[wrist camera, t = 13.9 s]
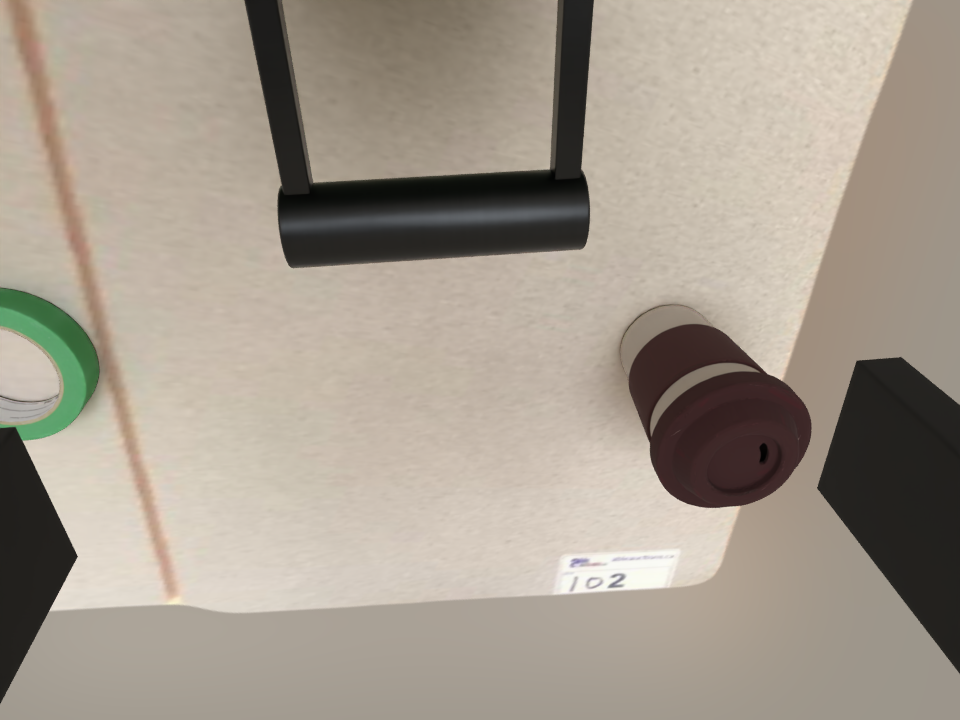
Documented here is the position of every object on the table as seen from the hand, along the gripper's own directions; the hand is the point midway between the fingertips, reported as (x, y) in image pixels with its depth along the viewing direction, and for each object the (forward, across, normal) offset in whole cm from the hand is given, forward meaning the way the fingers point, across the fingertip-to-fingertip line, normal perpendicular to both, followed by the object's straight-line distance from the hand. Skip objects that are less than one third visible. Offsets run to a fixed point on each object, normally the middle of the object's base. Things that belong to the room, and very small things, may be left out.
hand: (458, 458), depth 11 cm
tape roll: (+36, -30, -17) cm, 50 cm away
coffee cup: (+36, +18, -20) cm, 45 cm away
